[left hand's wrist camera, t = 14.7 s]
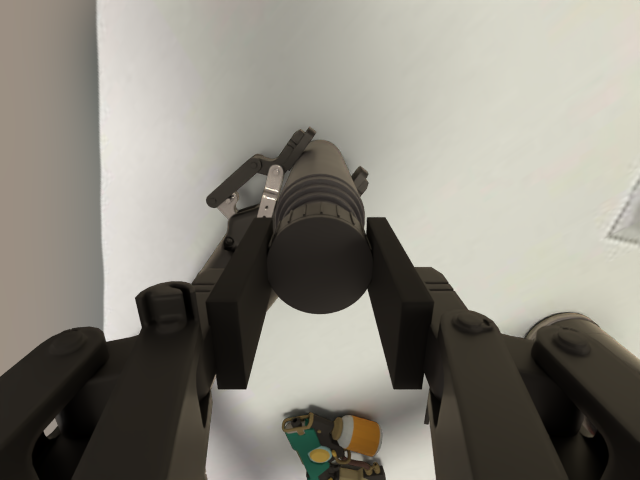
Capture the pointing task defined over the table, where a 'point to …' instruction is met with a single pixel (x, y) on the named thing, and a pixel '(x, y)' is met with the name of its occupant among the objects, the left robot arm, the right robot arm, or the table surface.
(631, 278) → the table surface
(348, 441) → the spray gun
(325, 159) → the bottle
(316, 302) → the cap
